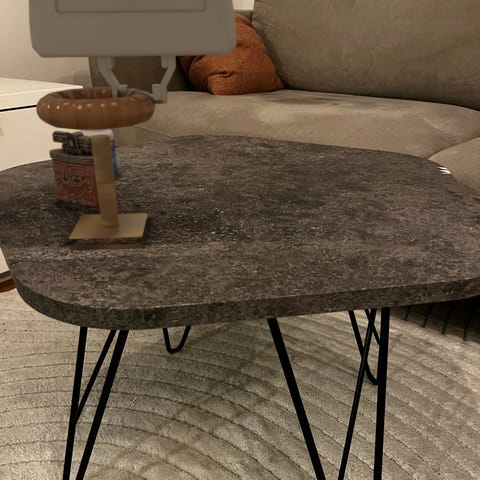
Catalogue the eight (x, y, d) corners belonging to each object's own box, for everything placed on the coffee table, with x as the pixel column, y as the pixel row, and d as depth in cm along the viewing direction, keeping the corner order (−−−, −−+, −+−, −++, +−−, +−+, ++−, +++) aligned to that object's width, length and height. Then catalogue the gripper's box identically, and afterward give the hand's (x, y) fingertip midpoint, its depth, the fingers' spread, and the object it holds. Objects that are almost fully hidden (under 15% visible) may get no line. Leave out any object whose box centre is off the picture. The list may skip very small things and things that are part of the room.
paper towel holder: (70, 250, 65) (54, 144, 60) (82, 226, 72) (69, 129, 67) (143, 248, 66) (134, 143, 60) (148, 224, 73) (140, 128, 67)
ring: (27, 133, 57) (22, 102, 56) (53, 112, 68) (50, 86, 66) (152, 130, 58) (149, 100, 56) (158, 110, 68) (157, 84, 67)
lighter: (115, 211, 77) (106, 133, 73) (97, 218, 75) (87, 137, 70) (70, 202, 81) (59, 126, 76) (51, 209, 78) (39, 131, 74)
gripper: (6, -54, 52) (33, 110, 59) (236, -55, 53) (238, 106, 60) (24, -48, 58) (48, 101, 64) (233, -50, 59) (234, 97, 65)
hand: (141, 103), depth 62 cm, fingers closed on ring, 3 cm apart
